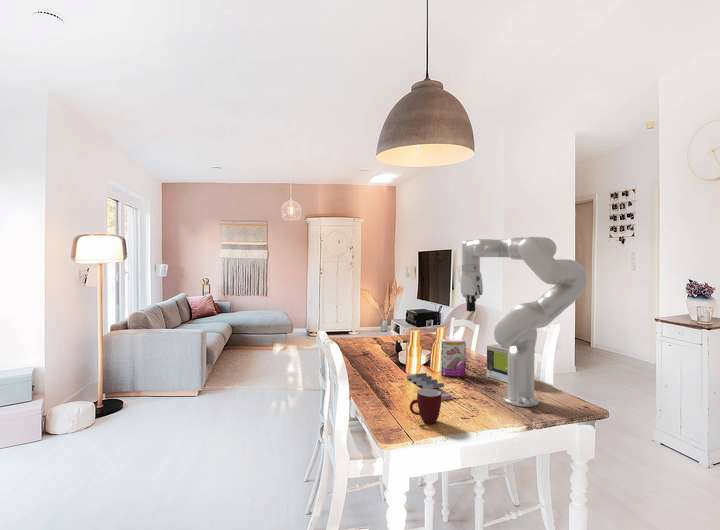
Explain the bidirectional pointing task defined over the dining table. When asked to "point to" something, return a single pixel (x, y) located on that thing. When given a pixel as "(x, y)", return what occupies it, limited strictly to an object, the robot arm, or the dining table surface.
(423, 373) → the domino
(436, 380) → the domino
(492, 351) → the grey toy television
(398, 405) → the dining table surface
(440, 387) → the domino
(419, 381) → the domino
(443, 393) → the plum domino
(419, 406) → the mug
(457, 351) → the candy bar box
